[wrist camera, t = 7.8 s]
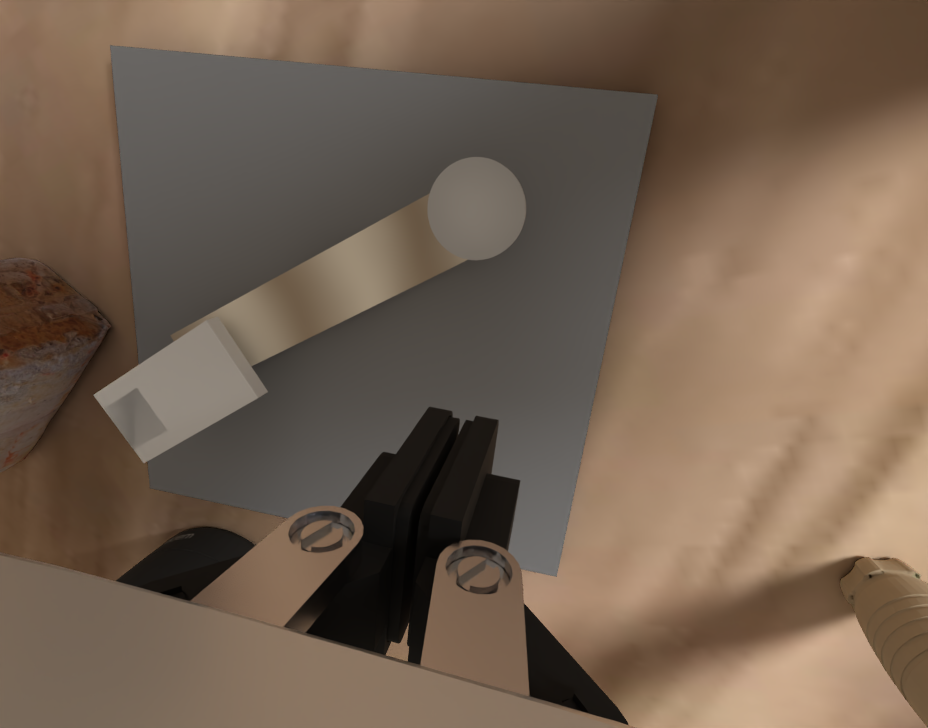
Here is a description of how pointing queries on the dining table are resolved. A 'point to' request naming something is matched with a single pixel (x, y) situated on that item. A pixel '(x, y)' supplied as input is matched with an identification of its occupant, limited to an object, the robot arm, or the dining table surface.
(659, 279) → the dining table surface
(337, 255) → the link
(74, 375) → the food item
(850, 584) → the handle
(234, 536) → the pen holder
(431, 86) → the board
